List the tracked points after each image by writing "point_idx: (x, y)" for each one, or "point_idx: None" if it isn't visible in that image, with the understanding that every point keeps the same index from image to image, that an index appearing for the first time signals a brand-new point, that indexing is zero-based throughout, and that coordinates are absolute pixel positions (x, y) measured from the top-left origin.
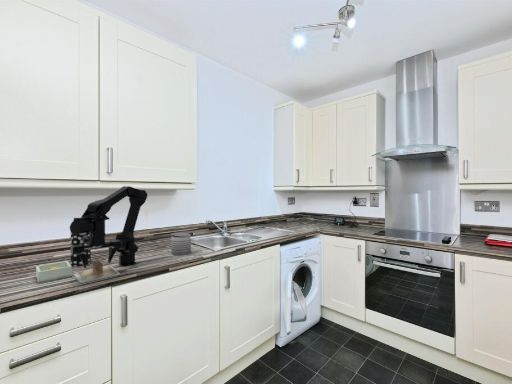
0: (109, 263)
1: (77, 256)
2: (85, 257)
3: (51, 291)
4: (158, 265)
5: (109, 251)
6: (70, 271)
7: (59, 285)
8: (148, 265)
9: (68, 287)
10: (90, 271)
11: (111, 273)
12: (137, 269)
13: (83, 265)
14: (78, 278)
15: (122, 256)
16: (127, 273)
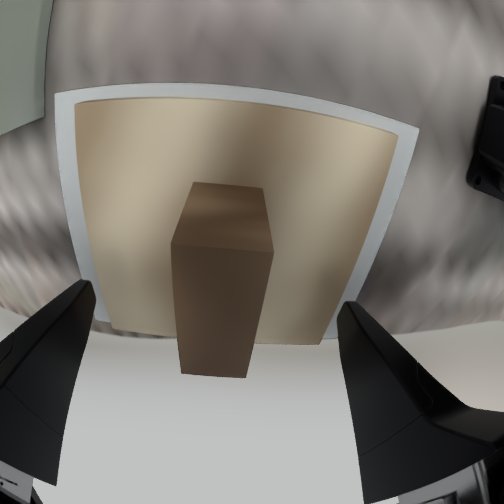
0: (341, 319)
1: None
2: (62, 438)
3: (11, 309)
4: (497, 312)
5: (410, 435)
6: (6, 130)
7: (12, 262)
8: (498, 283)
9: None
10: (171, 178)
11: (284, 343)
12: (438, 308)
13: (63, 295)
14: (79, 247)
15: None
16: None
